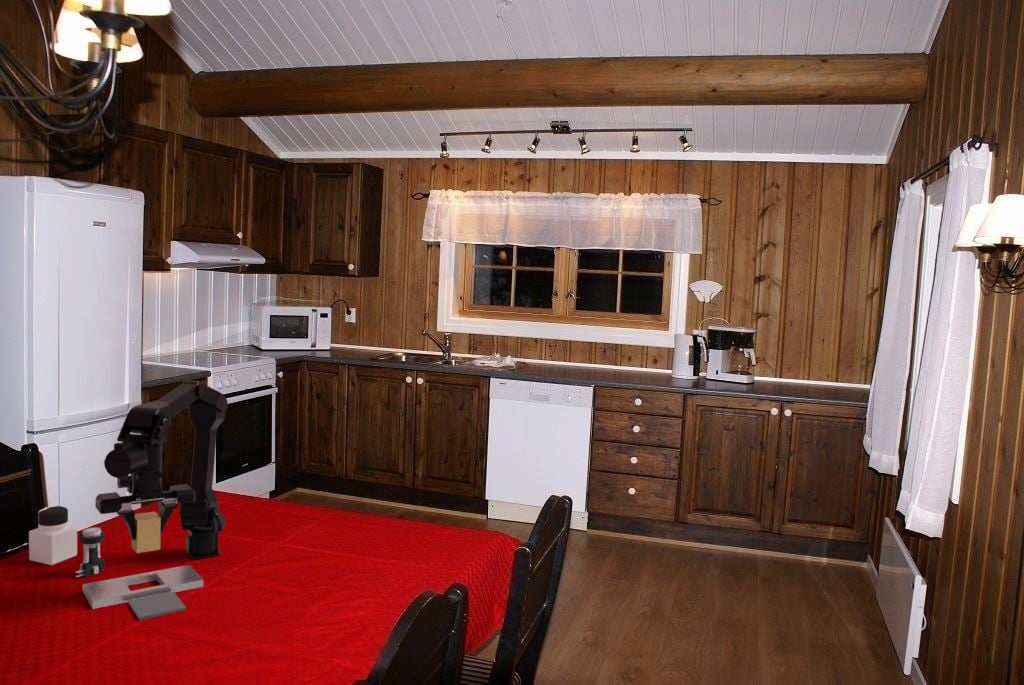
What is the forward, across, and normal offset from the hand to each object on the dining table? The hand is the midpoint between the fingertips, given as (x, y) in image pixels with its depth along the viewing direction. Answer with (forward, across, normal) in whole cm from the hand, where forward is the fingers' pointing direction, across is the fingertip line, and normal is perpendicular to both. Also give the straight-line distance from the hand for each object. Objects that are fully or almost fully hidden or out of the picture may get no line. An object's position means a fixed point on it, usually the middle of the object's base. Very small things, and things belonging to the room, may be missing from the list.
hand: (146, 537), depth 173 cm
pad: (+12, 0, +8) cm, 15 cm away
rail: (+12, 0, -2) cm, 12 cm away
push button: (+12, +8, -17) cm, 22 cm away
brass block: (+2, 0, 0) cm, 2 cm away
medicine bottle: (+12, +13, -31) cm, 36 cm away
